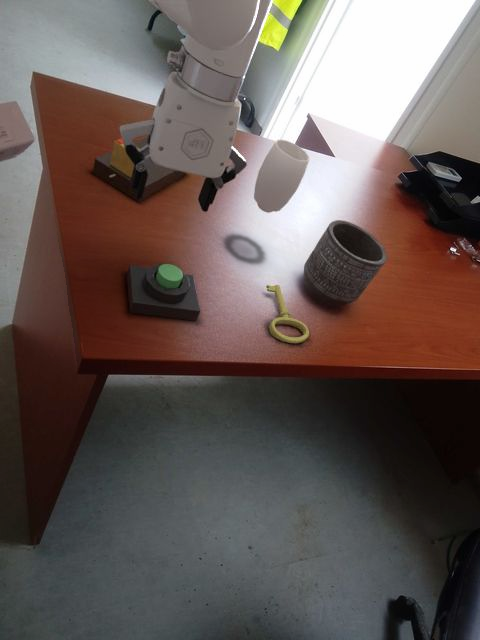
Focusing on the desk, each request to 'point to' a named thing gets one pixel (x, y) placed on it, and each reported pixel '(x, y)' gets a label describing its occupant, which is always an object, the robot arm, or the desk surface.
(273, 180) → the cup
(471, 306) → the desk surface
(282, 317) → the key
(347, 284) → the planter
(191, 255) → the desk surface
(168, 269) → the button
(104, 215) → the desk surface
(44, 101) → the desk surface
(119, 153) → the block
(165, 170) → the plate
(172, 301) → the button box
